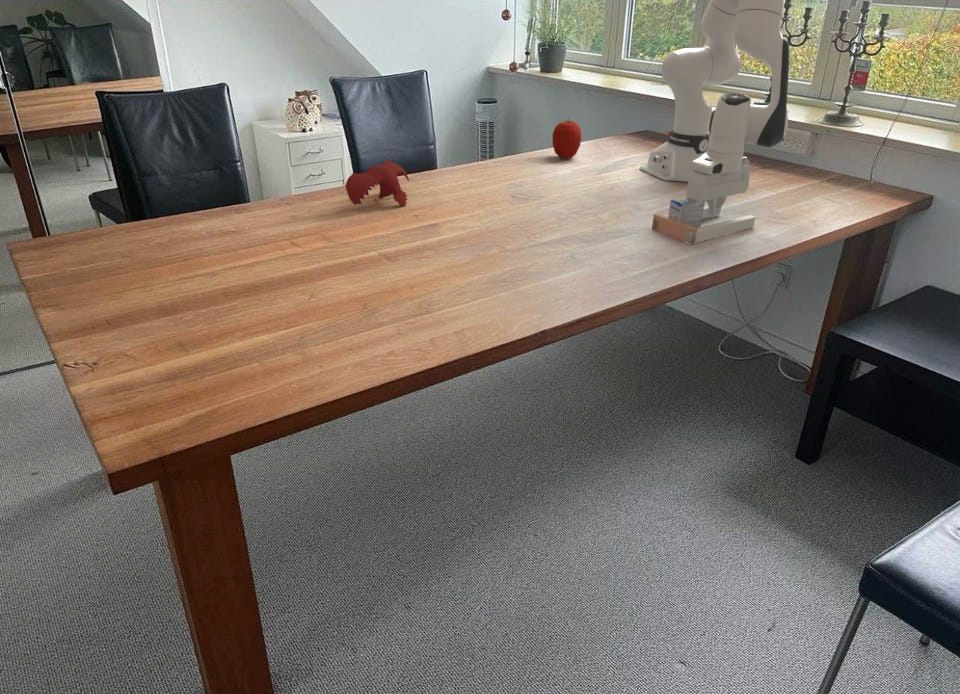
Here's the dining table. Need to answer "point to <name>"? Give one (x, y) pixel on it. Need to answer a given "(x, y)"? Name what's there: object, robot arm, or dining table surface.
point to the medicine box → (686, 211)
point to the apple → (566, 139)
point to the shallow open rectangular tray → (701, 233)
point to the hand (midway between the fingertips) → (713, 213)
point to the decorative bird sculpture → (377, 175)
